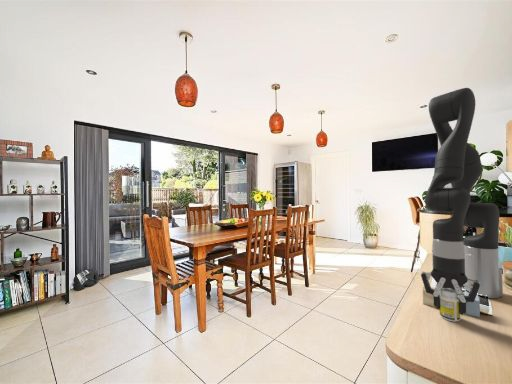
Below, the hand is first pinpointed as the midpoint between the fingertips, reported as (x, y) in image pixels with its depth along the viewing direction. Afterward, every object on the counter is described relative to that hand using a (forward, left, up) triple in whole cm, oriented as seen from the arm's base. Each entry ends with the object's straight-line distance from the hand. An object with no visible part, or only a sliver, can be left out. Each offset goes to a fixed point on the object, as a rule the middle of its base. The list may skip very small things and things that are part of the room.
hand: (449, 310), depth 70 cm
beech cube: (-1, -9, -2) cm, 9 cm away
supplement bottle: (0, 0, -2) cm, 2 cm away
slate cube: (-8, -4, -2) cm, 9 cm away
